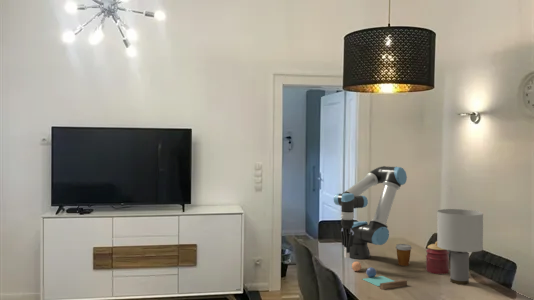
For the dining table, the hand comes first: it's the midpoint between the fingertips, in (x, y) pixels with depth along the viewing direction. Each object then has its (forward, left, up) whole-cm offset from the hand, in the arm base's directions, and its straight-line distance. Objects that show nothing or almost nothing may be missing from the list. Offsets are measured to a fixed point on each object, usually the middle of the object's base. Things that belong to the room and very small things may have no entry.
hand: (346, 257), depth 277 cm
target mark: (+31, 0, -6) cm, 32 cm away
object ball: (+23, 0, -3) cm, 24 cm away
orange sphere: (+9, 0, -3) cm, 10 cm away
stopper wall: (+42, 0, -6) cm, 43 cm away
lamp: (+50, +38, -6) cm, 64 cm away
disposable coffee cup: (+9, +35, -6) cm, 37 cm away
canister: (+29, +43, -6) cm, 53 cm away
